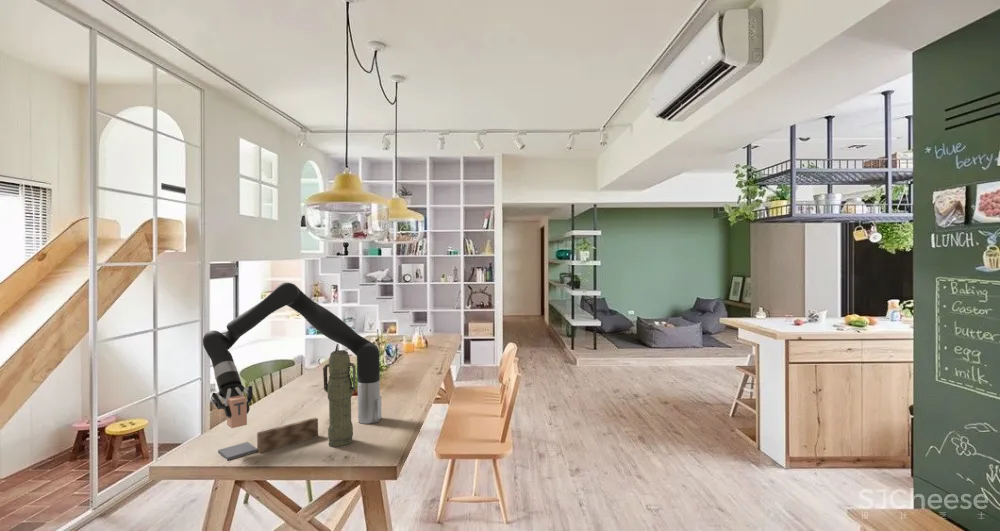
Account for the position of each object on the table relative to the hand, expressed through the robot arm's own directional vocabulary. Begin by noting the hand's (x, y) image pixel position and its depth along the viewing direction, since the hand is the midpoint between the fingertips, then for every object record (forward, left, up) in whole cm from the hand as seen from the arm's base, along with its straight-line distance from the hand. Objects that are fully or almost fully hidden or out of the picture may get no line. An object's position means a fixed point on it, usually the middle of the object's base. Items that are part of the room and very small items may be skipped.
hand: (238, 414), depth 171 cm
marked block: (+1, -1, -4) cm, 5 cm away
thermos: (-34, -9, -14) cm, 38 cm away
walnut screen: (-14, -9, -14) cm, 22 cm away
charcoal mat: (+1, -1, -14) cm, 14 cm away
